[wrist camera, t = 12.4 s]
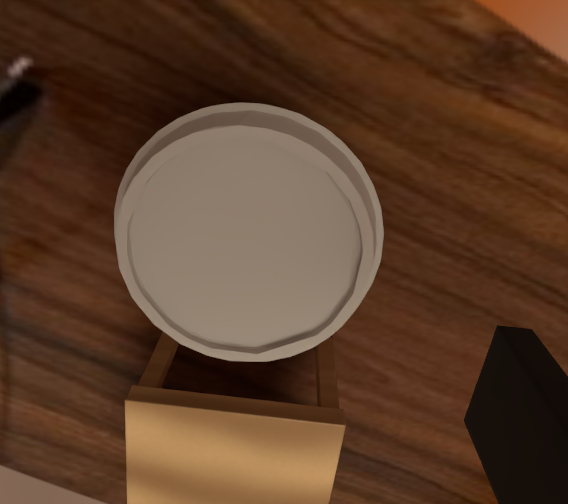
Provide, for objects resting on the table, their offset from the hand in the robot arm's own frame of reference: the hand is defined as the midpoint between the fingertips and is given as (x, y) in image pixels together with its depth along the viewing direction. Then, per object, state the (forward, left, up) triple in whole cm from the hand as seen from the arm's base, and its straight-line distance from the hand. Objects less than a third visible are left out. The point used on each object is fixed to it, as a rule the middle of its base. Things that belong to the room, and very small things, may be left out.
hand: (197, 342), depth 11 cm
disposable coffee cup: (0, +1, -18) cm, 18 cm away
